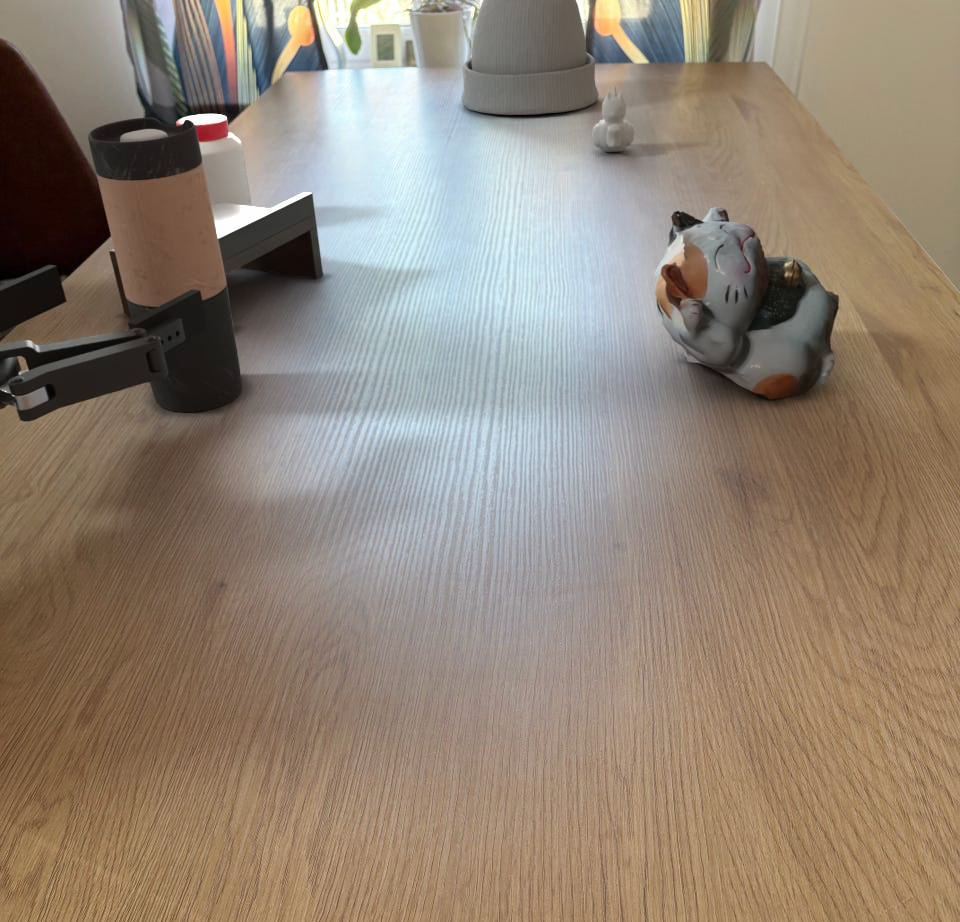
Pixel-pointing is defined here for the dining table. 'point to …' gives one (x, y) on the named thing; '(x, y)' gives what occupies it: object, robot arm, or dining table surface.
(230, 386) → the travel mug
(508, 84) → the beanie hat
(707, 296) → the lucky cat figurine
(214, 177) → the pill bottle
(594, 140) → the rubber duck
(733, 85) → the dining table surface
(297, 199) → the shelf
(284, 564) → the dining table surface
